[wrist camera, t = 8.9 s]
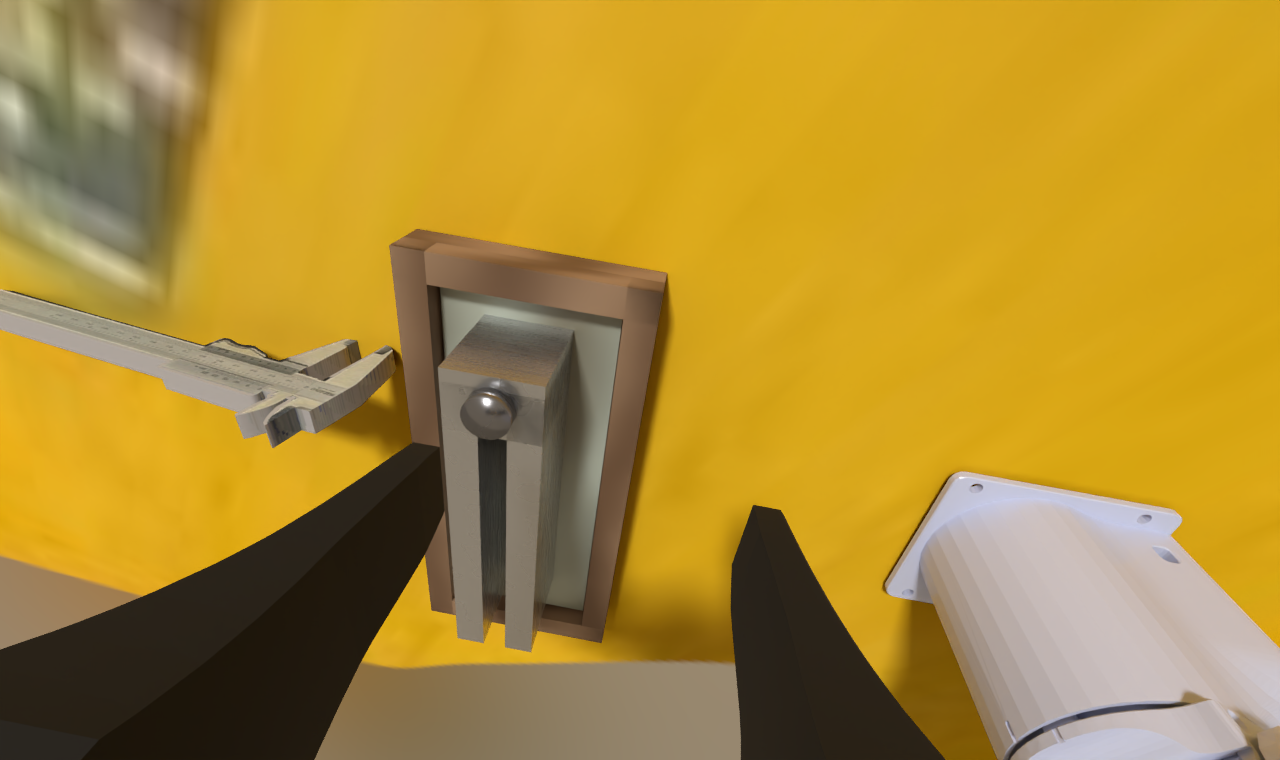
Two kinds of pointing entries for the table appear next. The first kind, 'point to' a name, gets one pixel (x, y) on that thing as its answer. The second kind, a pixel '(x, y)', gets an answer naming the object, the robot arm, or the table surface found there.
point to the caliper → (216, 367)
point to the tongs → (504, 470)
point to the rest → (597, 402)
